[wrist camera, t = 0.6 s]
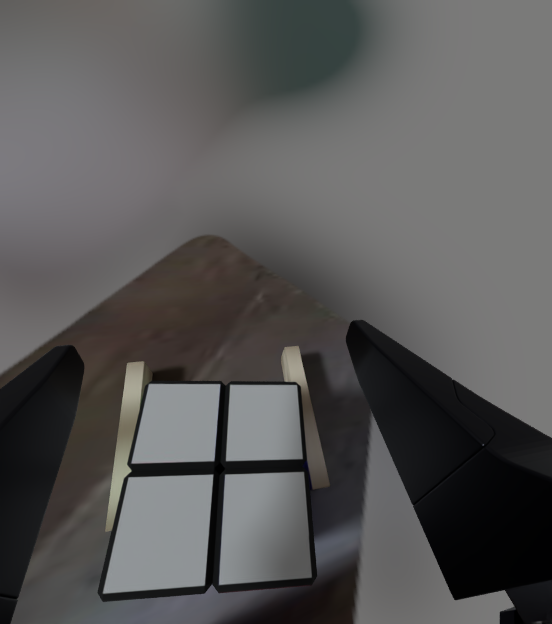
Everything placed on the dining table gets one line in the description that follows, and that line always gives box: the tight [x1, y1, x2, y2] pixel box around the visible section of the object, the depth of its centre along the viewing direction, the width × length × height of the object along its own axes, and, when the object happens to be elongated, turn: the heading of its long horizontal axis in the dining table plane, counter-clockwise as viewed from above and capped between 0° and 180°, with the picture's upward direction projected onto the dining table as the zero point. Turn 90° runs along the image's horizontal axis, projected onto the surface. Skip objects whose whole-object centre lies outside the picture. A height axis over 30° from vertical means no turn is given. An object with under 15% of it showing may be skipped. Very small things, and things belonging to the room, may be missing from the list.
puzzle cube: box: [98, 381, 317, 602], centre depth 19 cm, size 10×10×10 cm
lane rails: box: [105, 346, 330, 532], centre depth 24 cm, size 12×16×3 cm
